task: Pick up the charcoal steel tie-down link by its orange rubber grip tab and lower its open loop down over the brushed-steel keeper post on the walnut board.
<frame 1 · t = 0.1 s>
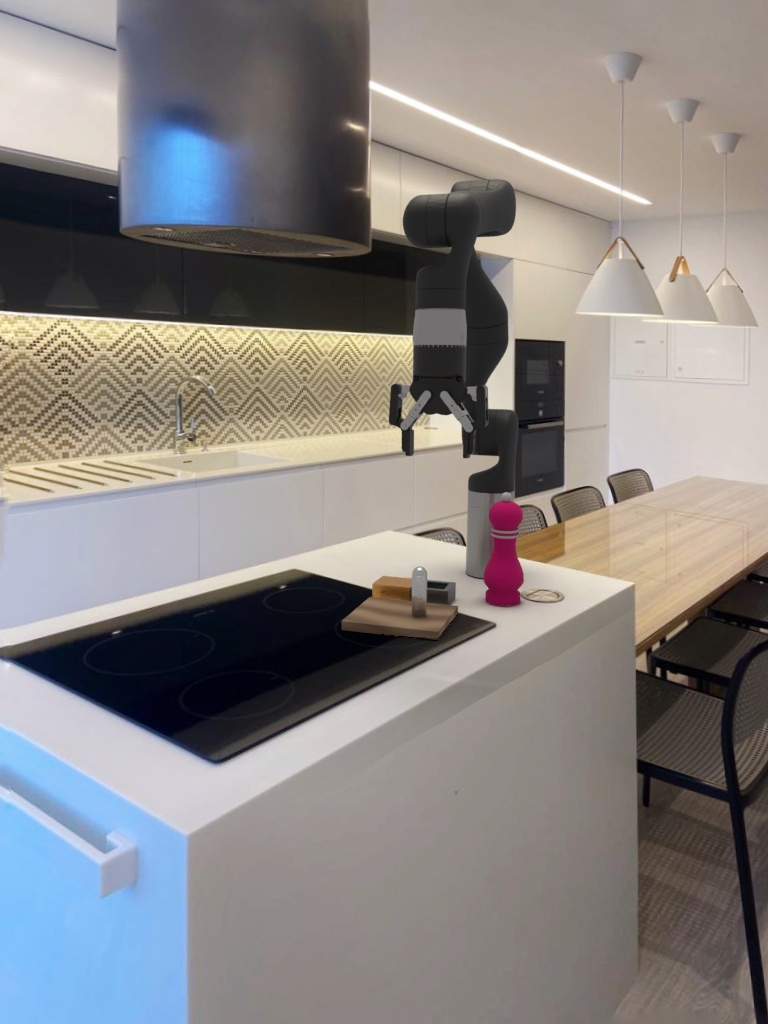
hand: (437, 456, 119), 29 cm above the countertop, fingers open, 8 cm apart
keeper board: (401, 621, 136), on the countertop
link: (432, 601, 148), on the countertop
keeper post: (418, 623, 135), resting on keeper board
pepper mill: (502, 602, 148), on the countertop
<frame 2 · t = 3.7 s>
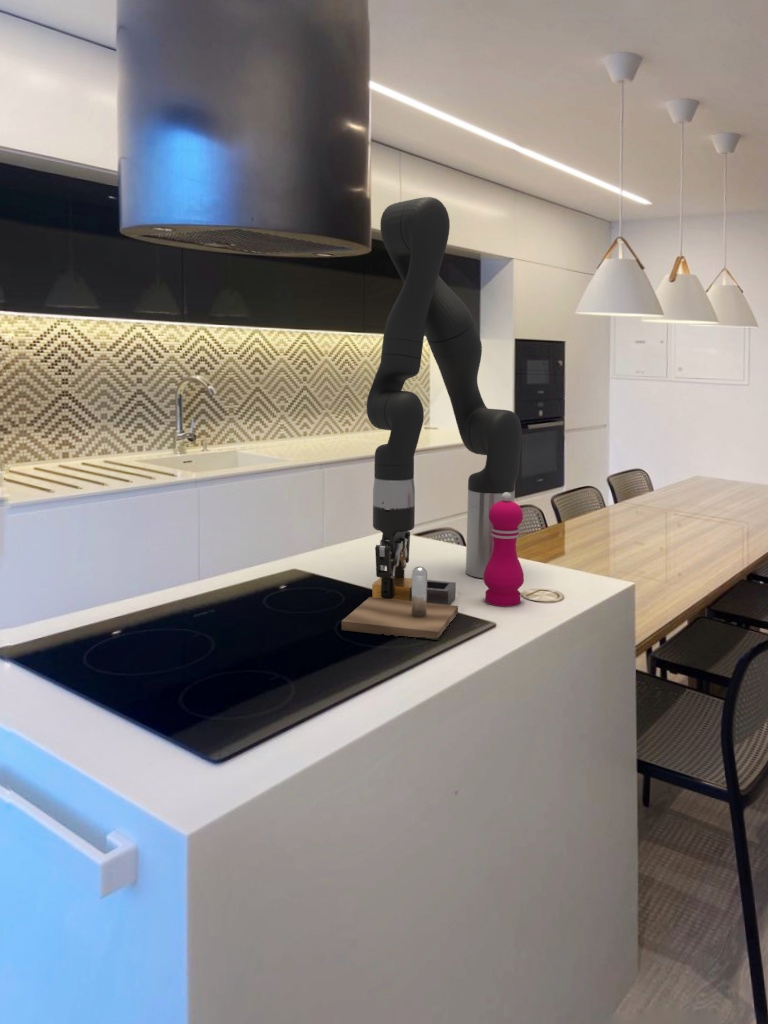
hand: (392, 592, 150), 1 cm above the countertop, fingers closed on link, 6 cm apart
link: (432, 601, 148), on the countertop, touching gripper
everything else where it was.
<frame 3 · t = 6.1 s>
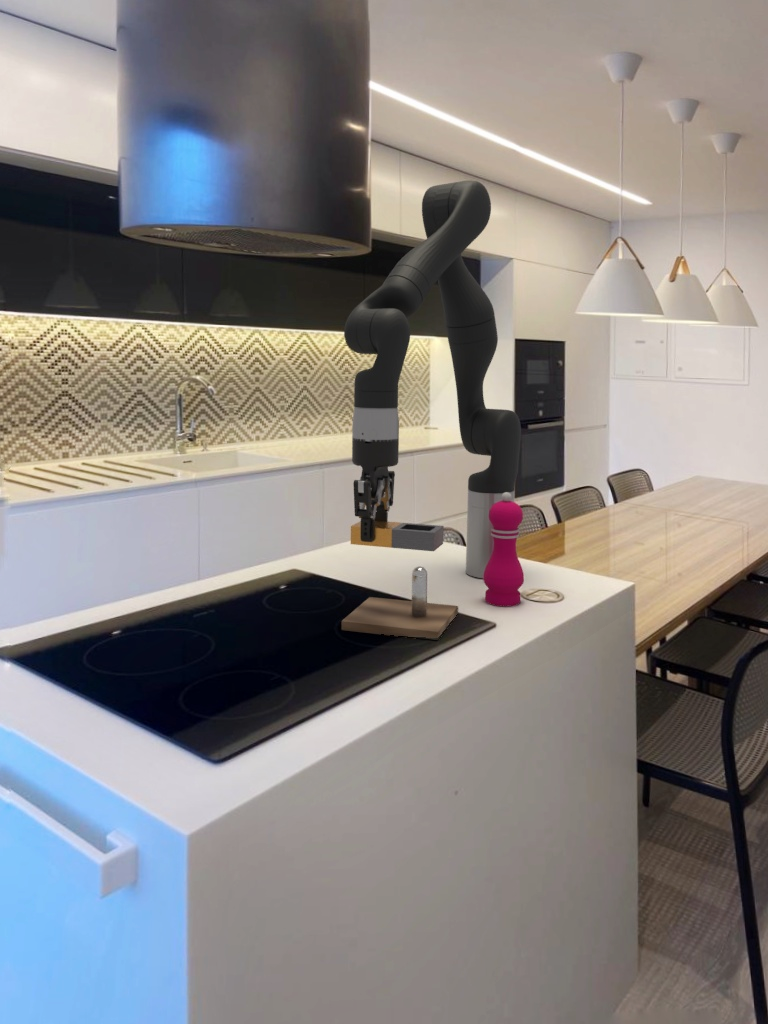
hand: (374, 537, 135), 14 cm above the countertop, fingers closed on link, 6 cm apart
link: (417, 545, 133), point 13 cm above the countertop, touching gripper
everything else where it was.
when the fingers open (4 cm above the countertop, at t = 8.5 s): link drops 2 cm, resting on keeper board.
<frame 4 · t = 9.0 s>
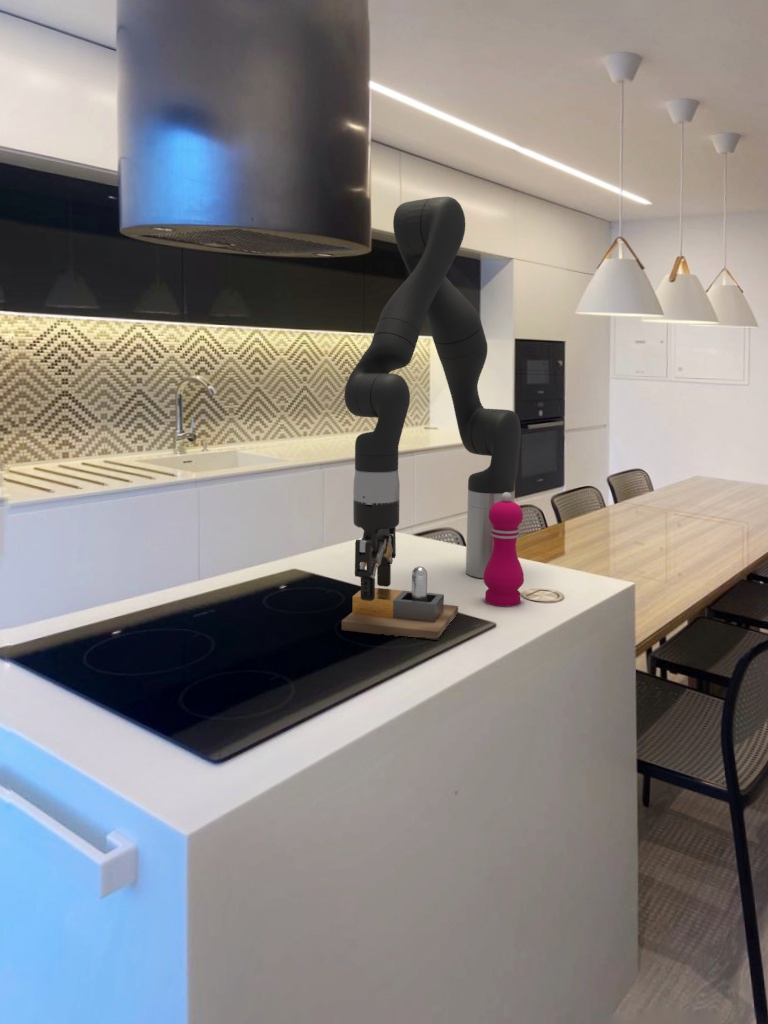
hand: (376, 592, 137), 5 cm above the countertop, fingers open, 8 cm apart
link: (418, 614, 135), point 1 cm above the countertop, touching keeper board
everything else where it was.
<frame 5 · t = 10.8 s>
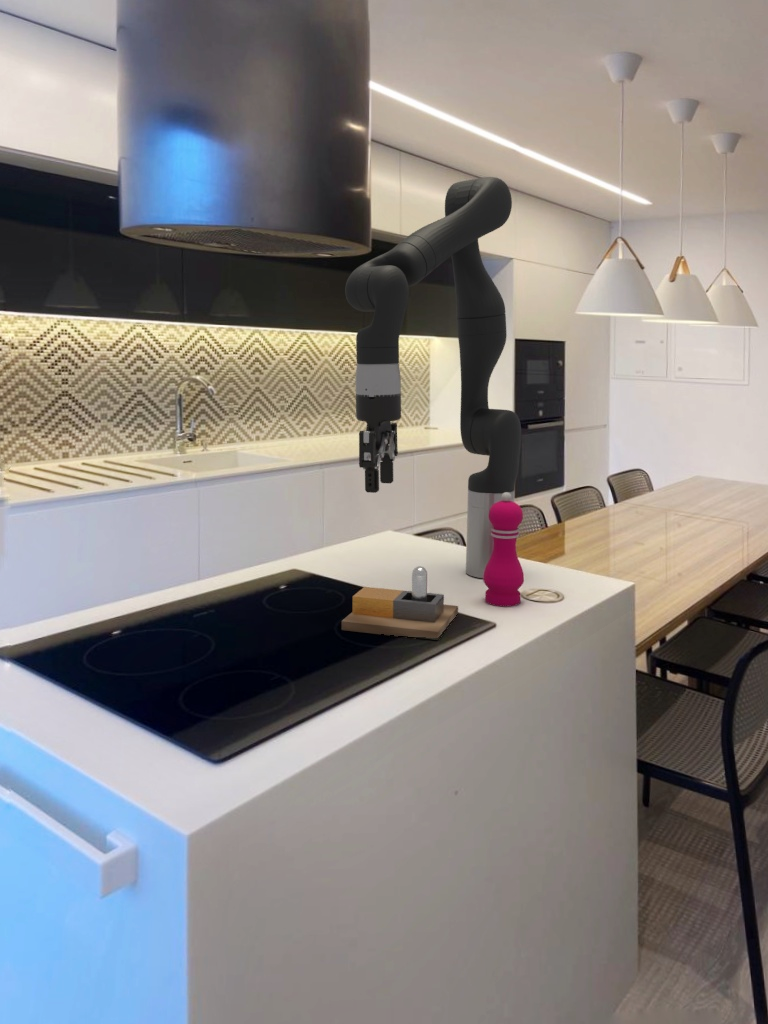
hand: (379, 487, 140), 21 cm above the countertop, fingers open, 8 cm apart
nothing on the countertop moved.
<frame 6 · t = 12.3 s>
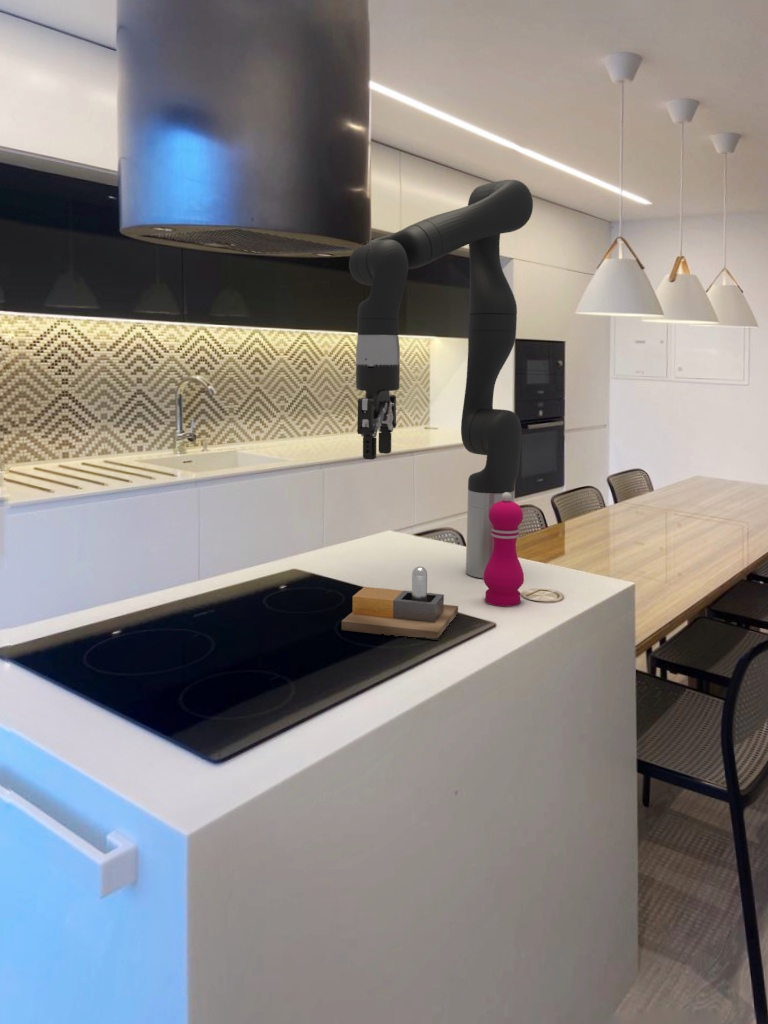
hand: (377, 456, 144), 26 cm above the countertop, fingers open, 8 cm apart
nothing on the countertop moved.
at the end: link 0.1 cm from the target spot on the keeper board, point 1.5 cm above the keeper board's base; the gripper is holding nothing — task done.
